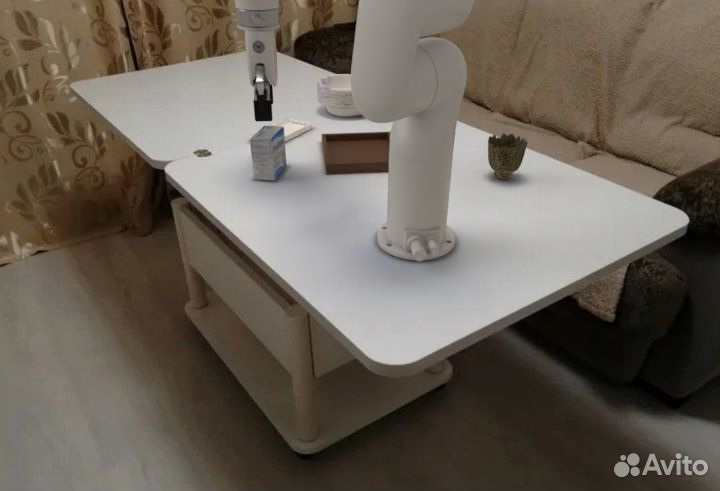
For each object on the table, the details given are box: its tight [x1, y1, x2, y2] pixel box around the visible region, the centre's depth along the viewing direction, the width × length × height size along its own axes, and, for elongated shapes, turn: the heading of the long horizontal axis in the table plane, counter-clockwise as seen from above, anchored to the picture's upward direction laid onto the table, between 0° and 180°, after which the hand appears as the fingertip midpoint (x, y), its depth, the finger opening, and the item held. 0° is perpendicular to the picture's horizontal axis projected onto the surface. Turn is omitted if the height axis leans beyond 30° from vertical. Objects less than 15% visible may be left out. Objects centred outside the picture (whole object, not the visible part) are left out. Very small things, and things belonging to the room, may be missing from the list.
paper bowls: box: [316, 73, 362, 118], centre depth 152 cm, size 15×15×8 cm
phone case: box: [248, 118, 312, 143], centre depth 138 cm, size 7×1×15 cm
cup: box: [487, 132, 529, 181], centre depth 116 cm, size 8×7×8 cm
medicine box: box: [249, 125, 287, 182], centre depth 118 cm, size 8×4×9 cm, turn 168°
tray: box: [321, 131, 391, 175], centre depth 127 cm, size 18×16×2 cm
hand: (264, 112), depth 114 cm, fingers open, 9 cm apart
